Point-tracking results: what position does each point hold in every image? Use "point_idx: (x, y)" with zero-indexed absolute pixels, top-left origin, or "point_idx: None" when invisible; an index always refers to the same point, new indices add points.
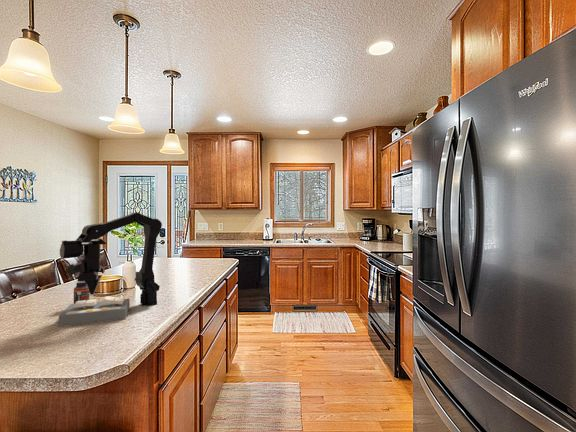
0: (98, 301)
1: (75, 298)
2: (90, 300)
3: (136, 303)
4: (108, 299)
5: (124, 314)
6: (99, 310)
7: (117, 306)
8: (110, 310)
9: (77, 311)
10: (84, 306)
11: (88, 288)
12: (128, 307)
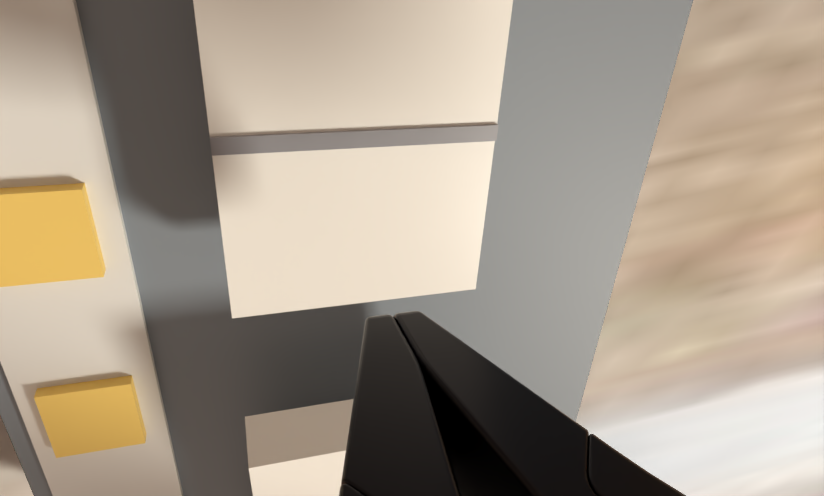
0: (636, 199)
1: None
2: (419, 204)
3: (616, 426)
4: (274, 492)
5: None
6: (16, 370)
7: (227, 492)
8: (30, 480)
9: (12, 6)
10: None
11: (352, 441)
12: None
